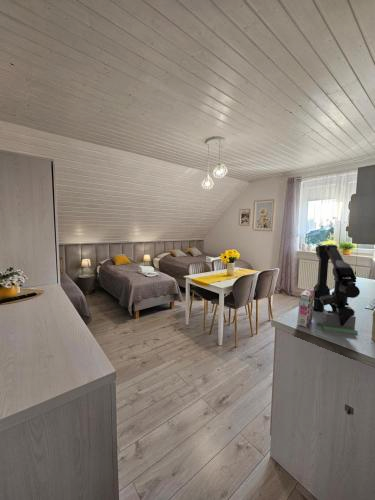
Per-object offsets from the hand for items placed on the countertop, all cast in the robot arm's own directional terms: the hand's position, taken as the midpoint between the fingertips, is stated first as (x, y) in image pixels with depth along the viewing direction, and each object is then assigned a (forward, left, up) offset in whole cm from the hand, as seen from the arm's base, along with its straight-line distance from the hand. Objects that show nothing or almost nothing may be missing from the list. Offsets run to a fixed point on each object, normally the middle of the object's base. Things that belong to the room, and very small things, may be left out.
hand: (338, 321), depth 110 cm
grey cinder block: (0, 0, -2) cm, 2 cm away
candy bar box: (-1, -15, -4) cm, 15 cm away
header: (0, 0, -3) cm, 3 cm away
